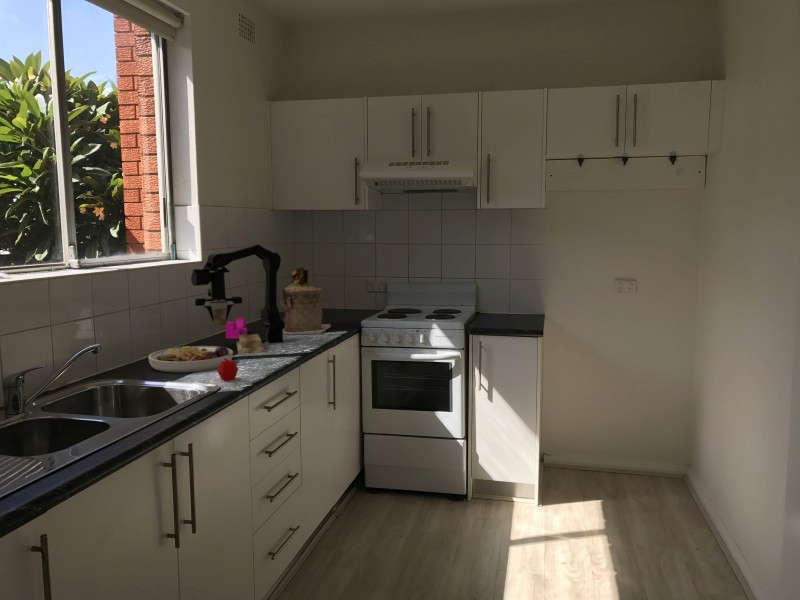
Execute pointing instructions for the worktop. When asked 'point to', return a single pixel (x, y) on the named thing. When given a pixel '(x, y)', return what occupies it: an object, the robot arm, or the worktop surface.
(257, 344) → the oak slab
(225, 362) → the apple
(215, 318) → the walnut block
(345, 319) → the worktop surface
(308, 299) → the cookie jar
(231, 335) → the toy block
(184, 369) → the bowl
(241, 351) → the beech slab
